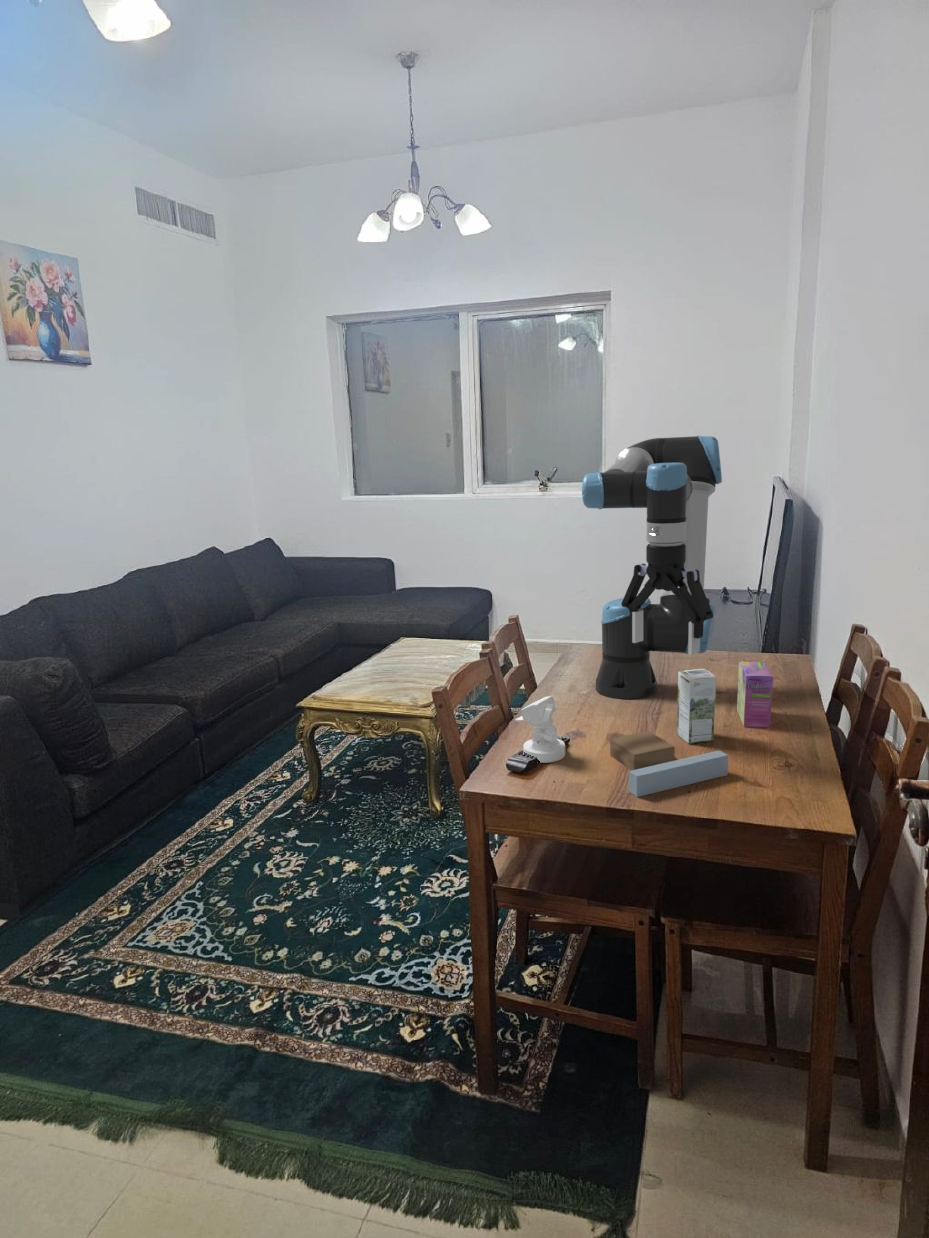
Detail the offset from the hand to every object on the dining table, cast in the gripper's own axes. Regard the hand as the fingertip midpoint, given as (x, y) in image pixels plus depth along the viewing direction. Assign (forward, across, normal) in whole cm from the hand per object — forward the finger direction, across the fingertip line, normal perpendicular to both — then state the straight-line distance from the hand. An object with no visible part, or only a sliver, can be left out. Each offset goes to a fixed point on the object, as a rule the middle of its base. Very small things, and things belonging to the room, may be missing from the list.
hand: (664, 647), depth 156 cm
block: (+21, +2, -10) cm, 23 cm away
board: (+20, +14, -14) cm, 28 cm away
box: (+21, +6, +24) cm, 33 cm away
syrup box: (+21, +3, +6) cm, 22 cm away
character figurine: (+21, -14, -22) cm, 33 cm away
